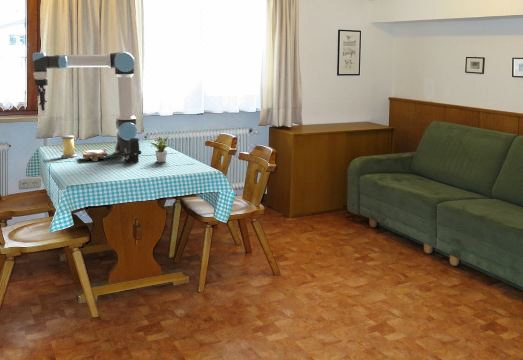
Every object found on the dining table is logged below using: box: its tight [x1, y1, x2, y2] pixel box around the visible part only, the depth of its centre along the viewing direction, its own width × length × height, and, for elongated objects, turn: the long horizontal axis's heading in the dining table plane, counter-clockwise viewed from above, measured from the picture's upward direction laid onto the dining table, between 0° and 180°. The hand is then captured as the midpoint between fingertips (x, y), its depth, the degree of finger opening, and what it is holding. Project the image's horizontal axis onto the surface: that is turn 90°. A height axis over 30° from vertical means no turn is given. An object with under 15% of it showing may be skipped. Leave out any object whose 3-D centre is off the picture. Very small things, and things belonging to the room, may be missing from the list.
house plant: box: [147, 135, 171, 163], centre depth 389 cm, size 14×14×16 cm
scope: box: [123, 137, 142, 164], centre depth 387 cm, size 8×14×10 cm
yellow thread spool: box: [61, 135, 77, 159], centre depth 402 cm, size 9×9×13 cm
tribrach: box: [81, 149, 108, 162], centre depth 395 cm, size 14×14×5 cm
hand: (43, 114), depth 387 cm, fingers open, 13 cm apart
